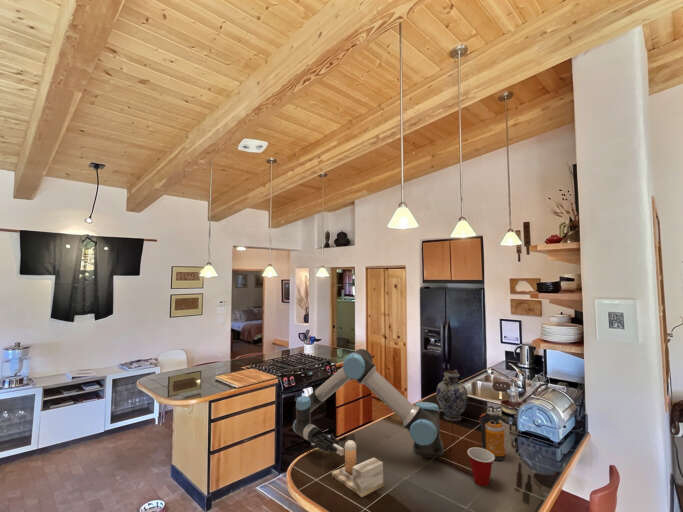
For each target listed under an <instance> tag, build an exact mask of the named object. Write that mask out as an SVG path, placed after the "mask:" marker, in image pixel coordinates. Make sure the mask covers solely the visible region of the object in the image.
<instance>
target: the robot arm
mask: <svg viewBox="0 0 683 512" xmlns="http://www.w3.org/2000/svg"><path fill="white" fill-rule="evenodd" d="M350 380H355V381H357V383H358V384H359V385H365V386H366V387H367V388H368V389H369V390H371V392H372V393H373V394H374V395H376V396H377V398H378V399H379V400H381V402H383V403H384V404H385V405H386V406H387V408H389V409H390V410H391V411H392V412H393V413H394V414H395V415H396V416H398V418H399V419H401V420H402V422H403V423H402V424H403V427H404V428H405V429H406V430H407V431H408V432H409V434H410V437H411V439H412V441H413V443H412V450H413V453H414V454H416V455H417V456H419V457H421V458H427V459H437V458H440V457H442V456H444V454H445V447H444V443H443V441H442V438H441V434H440V433H441V431H440V430H441V429H440V427H441V426H440V425H441V424H440V406H439V404H437V403H433V402H427V401H423V402H421V401H419V402H417V403H415V405H413V404H412V402H410V401H409V400H408V399H407V398H406V397H405V396H404V395H402V393H401V392H400V391H399V390H398V389H396V388H395V387H394V386H393V385H392V384H391V383H390V382H389V381H388V380H387V379H386V378H385V377H383V375H381V373H379V372H378V371H377V366H376V365H375V364H374V363H373V356H372V355H371V353H370V352H369V351H368V350H366V349H363V348H359V349H356V350H354V351H353V352H351V353H349V354H348V355H347V356H346V357H345V358H344V360H343V362H342V367H341V368H340V369H338V370H337V371H336V372H335V373H334V374H332V375H331V376H330V377H329V378H328V379H326V380H325V382H323V383H322V384H321V385H320V386H318V387H317V388H316V389H315V390H313V391H312V392H311V393H310V394H309V395H308V396H307V395H301V396H299V397H297V398H296V403H295V413H296V416H295V417H296V419H295V420H294V421H293V424H292V429H293V432H295V434H297V435H298V436H300V437H301V438H303V439H304V440H306V441H308V442H309V443H311V444H310V447H312V448H313V447H314V448H316V449H320V450H322V451H325V452H329V453H336V454H338V455H339V456H341V457H342V456H345V448H344V447H342V446H341V445H340V442H339V440H338V439H337V437H335V435H334V434H333V433H330V434H327V433H324V431H323V429H321V428H319V427H317V426H316V425H315V424H313V423H311V419H312V418H311V413H312V412H313V411H314V410H315V409H317V408H318V407H319V406H320V405H321V404H322V403H324V402H325V400H327V399H328V398H330V397H331V396H332V395H333V394H335V392H337V391H338V390H339V389H340V388H342V387H344V385H345V384H346V383H348V382H349V381H350Z"/></svg>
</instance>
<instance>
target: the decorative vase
mask: <svg viewBox="0 0 683 512" xmlns="http://www.w3.org/2000/svg"><path fill="white" fill-rule="evenodd" d="M442 374H443V376H444V377H442V378H443V380H442V381H441V382H439V383H438V384H437V386H436V389H435V390H436V392H435V394H436V400H437V403H438V406H439V409H440V410H441V411H442V412H443V413H444V415H443V419H445V420H446V421H450V422H459V421H461V420H462V416H461V414H463V413H464V411H465V409H466V408H467V404H468V398H469V397H468V395H469V394H468V389H467V387H466V386H465V385H464V384H463V383H462V382H460V381H459V379H458V378H459V377H460V376H461V375H460V373H459V371H458V370H457V369H454V370H445V371H444V372H443V373H442Z"/></svg>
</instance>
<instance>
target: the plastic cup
mask: <svg viewBox="0 0 683 512" xmlns="http://www.w3.org/2000/svg"><path fill="white" fill-rule="evenodd" d="M467 455H468V457H469V461H470V467H471V473H472V476H473V481H474V483H475V484H476V485H478V486H479V487H487V486H489V485H490V479H491V473H492V468H493V467H492V466H493V463H494V459H495V457H494V455H493V454H492V453H491V452H490V451H488V450H485V448H483V447H476V446H475V447H470V448H468V450H467Z"/></svg>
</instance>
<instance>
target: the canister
mask: <svg viewBox="0 0 683 512" xmlns="http://www.w3.org/2000/svg"><path fill="white" fill-rule="evenodd" d="M486 413H487V414H485V415H483V416H481V415H480V416H481V417H480V416H479V420H480V421H481V423H480V429H481V443H480V445H481V448H482V449H485V450H488V451H490V452H491V453H492V454H493V455H494V457H495V459H494V460H495V461H503V460H505V459H506V458H507V456H506V455H507V454H506V437H505V436H506V432H505V429H504V425H503V423H502V422H501V421H502V420H503V419H504V417H502V415H500V414H499V413H497V414H492V413H488V412H486ZM485 424H486V427H485Z"/></svg>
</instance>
